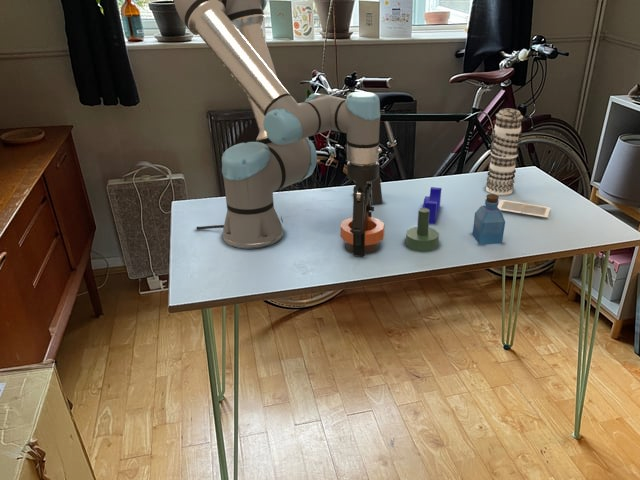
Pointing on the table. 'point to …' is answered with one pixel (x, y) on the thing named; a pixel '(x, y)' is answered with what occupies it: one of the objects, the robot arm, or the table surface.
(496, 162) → the decorative candle
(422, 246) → the sage peg
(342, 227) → the ring
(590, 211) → the table surface
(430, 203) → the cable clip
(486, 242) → the perfume bottle
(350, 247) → the walnut peg
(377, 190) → the phone stand
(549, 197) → the table surface
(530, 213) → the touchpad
